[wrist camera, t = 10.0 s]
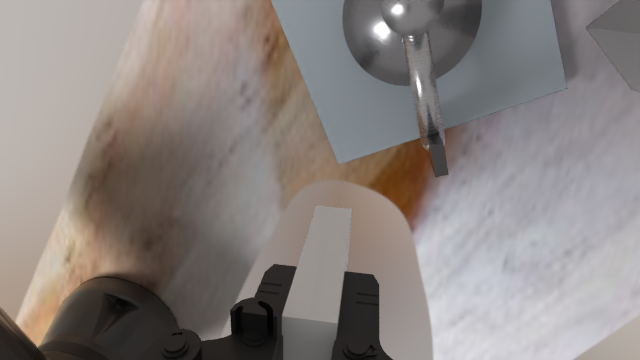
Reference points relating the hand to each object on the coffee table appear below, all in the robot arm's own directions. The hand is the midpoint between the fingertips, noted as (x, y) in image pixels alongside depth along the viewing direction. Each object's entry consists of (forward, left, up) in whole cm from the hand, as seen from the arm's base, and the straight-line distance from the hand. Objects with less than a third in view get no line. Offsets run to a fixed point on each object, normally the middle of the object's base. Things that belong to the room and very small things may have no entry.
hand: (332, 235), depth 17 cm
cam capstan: (+6, +6, -20) cm, 22 cm away
